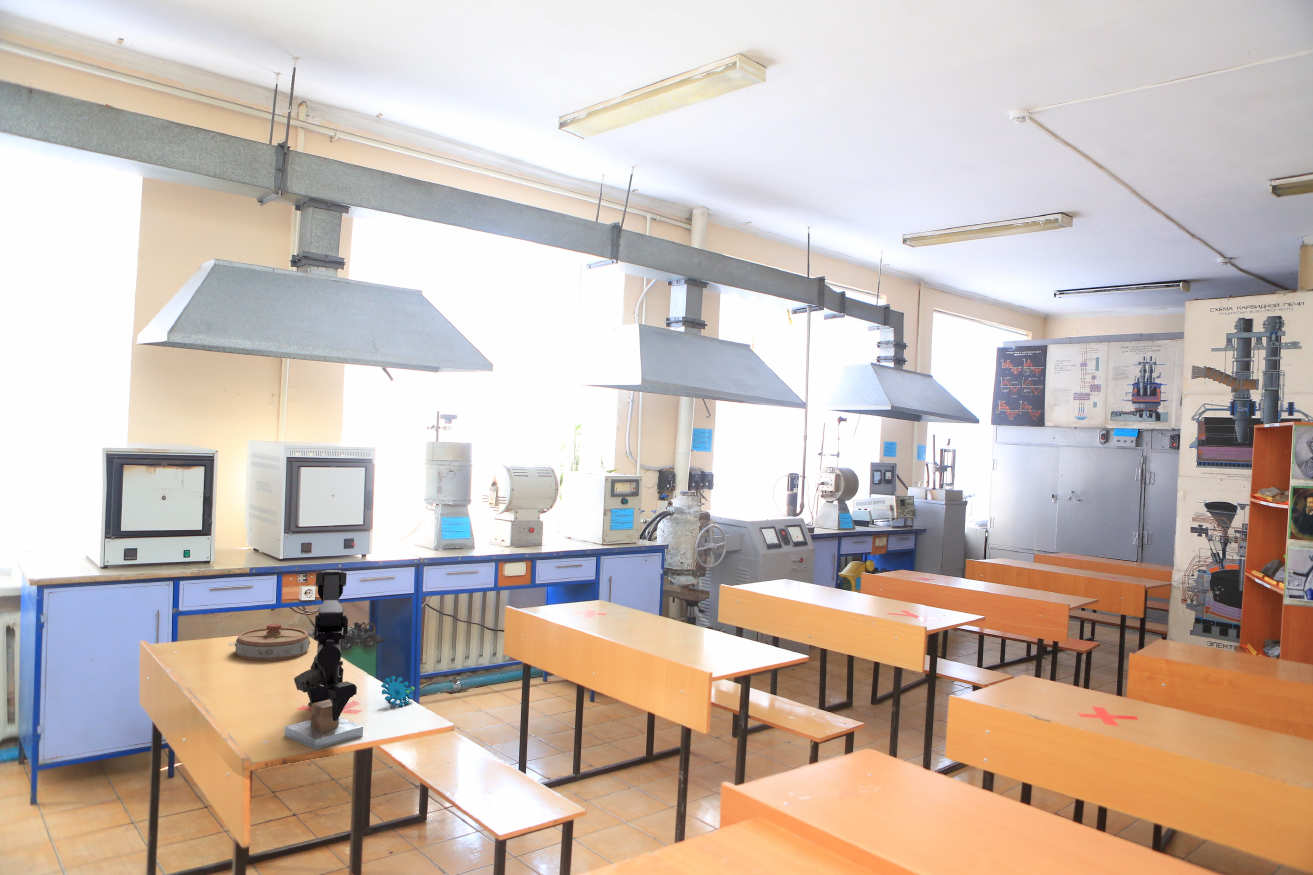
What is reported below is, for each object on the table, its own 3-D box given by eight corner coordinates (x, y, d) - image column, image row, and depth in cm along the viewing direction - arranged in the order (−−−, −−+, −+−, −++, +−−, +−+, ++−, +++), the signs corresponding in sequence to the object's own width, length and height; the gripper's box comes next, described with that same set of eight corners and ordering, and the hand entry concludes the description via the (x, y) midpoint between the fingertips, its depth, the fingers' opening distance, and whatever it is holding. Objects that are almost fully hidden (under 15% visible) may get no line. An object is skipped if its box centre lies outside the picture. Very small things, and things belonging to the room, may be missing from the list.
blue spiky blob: (388, 704, 246) (379, 674, 251) (377, 715, 248) (369, 685, 254) (420, 702, 254) (411, 673, 259) (410, 713, 256) (401, 684, 262)
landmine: (260, 665, 284) (262, 636, 284) (221, 652, 297) (222, 624, 297) (322, 652, 304) (324, 625, 304) (283, 641, 317) (284, 614, 317)
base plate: (284, 735, 222) (285, 726, 222) (332, 722, 233) (332, 713, 233) (314, 749, 214) (315, 739, 214) (362, 735, 225) (363, 726, 225)
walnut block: (310, 726, 223) (311, 703, 223) (327, 721, 227) (328, 699, 227) (321, 730, 220) (322, 707, 220) (338, 726, 224) (339, 703, 224)
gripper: (280, 656, 222) (277, 715, 222) (320, 670, 211) (317, 732, 211) (318, 648, 231) (315, 705, 231) (359, 662, 220) (356, 722, 220)
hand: (325, 716), depth 223 cm, fingers open, 9 cm apart
